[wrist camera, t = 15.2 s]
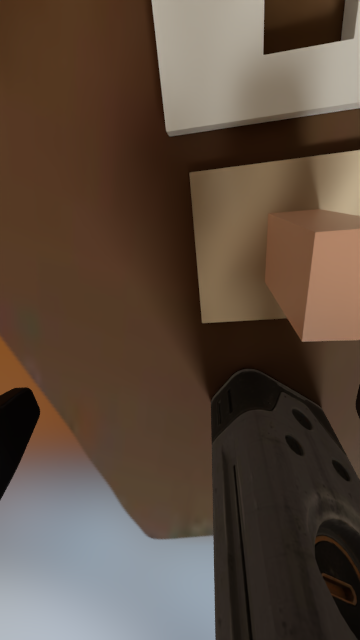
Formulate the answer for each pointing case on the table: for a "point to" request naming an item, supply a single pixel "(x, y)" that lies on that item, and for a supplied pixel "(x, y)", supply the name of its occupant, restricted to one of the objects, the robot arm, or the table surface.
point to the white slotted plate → (247, 67)
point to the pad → (258, 225)
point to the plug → (316, 272)
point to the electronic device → (282, 517)
